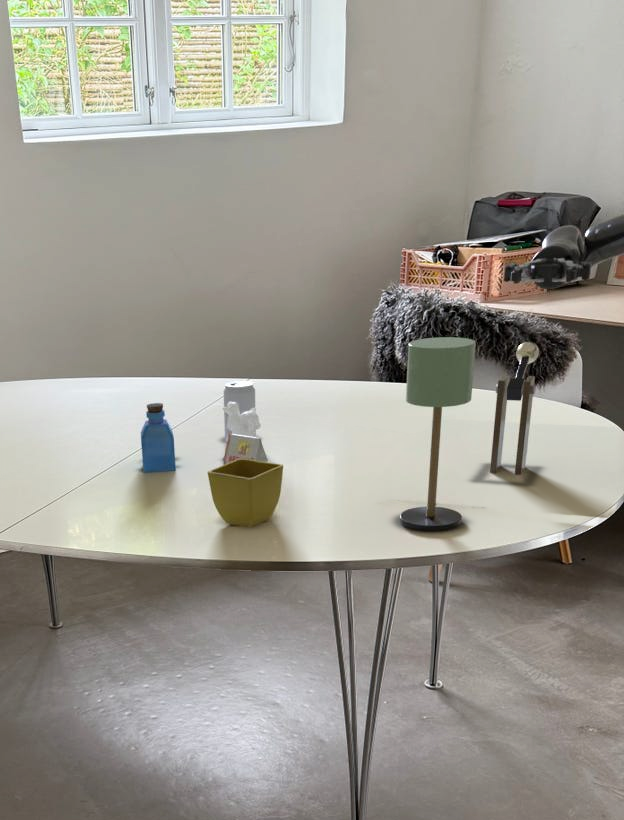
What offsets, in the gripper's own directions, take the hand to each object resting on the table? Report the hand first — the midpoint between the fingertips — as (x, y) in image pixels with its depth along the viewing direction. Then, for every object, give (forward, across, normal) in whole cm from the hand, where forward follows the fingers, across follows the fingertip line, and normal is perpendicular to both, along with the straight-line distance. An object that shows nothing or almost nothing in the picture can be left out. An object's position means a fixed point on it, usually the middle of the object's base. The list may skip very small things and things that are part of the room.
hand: (541, 276), depth 164 cm
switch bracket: (+19, 0, -30) cm, 36 cm away
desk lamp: (+46, +7, -30) cm, 56 cm away
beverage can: (+7, +54, -30) cm, 63 cm away
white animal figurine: (+22, +48, -30) cm, 61 cm away
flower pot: (+53, +34, -30) cm, 70 cm away
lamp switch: (+14, 0, -15) cm, 20 cm away
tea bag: (+39, +40, -30) cm, 63 cm away
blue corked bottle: (+28, +63, -30) cm, 75 cm away
